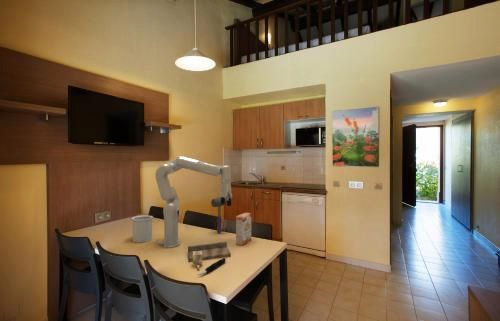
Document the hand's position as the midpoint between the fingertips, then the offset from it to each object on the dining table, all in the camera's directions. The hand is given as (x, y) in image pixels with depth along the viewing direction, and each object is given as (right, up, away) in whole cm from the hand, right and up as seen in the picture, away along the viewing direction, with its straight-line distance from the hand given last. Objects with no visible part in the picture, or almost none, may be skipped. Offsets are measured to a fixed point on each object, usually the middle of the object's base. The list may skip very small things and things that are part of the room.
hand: (225, 204), depth 176 cm
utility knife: (-3, -29, -43) cm, 52 cm away
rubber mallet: (-8, -29, +22) cm, 37 cm away
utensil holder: (-66, -29, +8) cm, 73 cm away
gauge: (-12, -29, -39) cm, 50 cm away
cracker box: (+14, -28, 0) cm, 32 cm away
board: (-9, -29, -23) cm, 37 cm away
